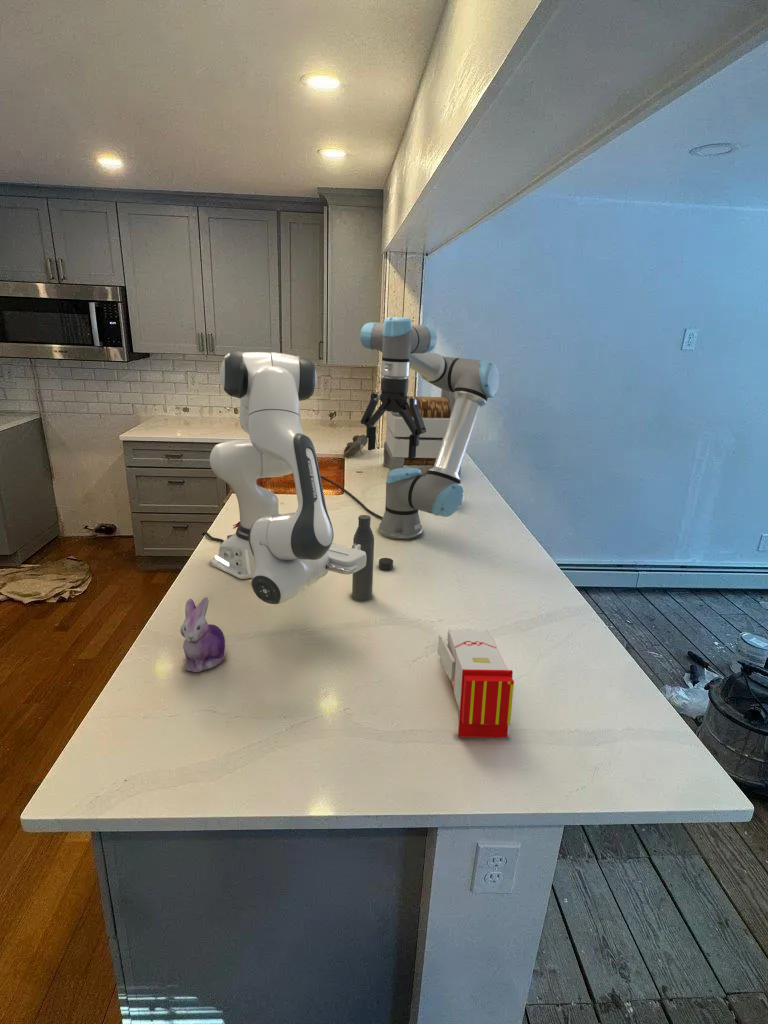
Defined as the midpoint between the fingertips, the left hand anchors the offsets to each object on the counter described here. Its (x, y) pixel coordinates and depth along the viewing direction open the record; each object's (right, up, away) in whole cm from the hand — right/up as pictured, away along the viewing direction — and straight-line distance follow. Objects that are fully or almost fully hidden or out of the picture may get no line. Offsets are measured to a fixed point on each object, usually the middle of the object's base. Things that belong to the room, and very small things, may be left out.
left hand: (341, 542), depth 139 cm
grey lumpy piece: (-5, +39, +166) cm, 171 cm away
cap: (+11, -8, +34) cm, 36 cm away
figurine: (-29, -25, -14) cm, 41 cm away
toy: (+28, -30, -20) cm, 46 cm away
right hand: (+13, +24, +22) cm, 35 cm away
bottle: (+4, -16, +17) cm, 23 cm away
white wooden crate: (+28, +26, +136) cm, 141 cm away
